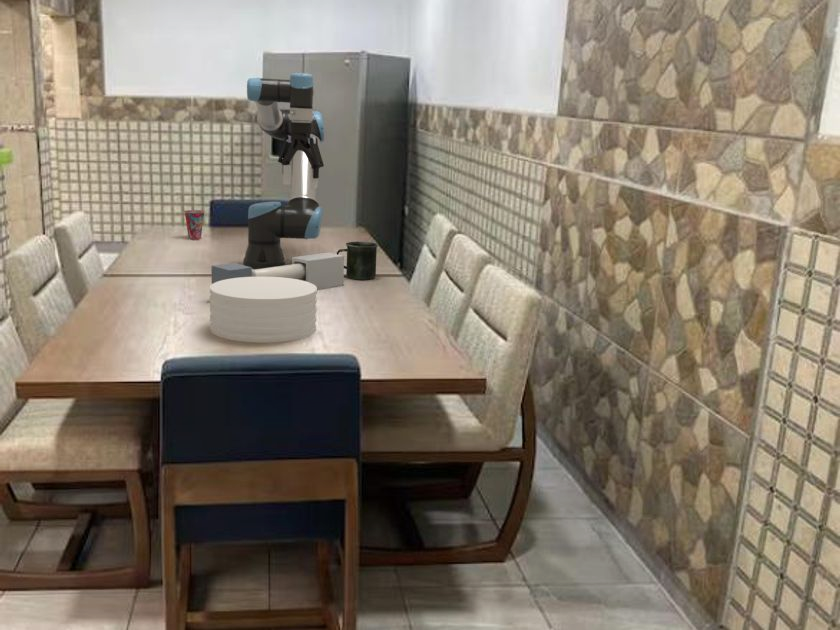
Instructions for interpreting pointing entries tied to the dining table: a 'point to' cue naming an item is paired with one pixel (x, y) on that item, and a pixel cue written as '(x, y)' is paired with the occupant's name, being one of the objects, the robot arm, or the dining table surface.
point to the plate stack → (263, 309)
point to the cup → (194, 223)
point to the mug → (360, 260)
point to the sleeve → (322, 269)
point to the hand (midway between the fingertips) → (300, 186)
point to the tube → (282, 271)
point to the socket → (230, 271)
